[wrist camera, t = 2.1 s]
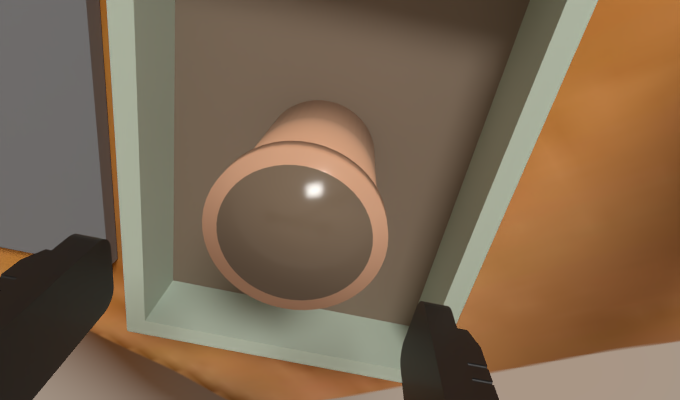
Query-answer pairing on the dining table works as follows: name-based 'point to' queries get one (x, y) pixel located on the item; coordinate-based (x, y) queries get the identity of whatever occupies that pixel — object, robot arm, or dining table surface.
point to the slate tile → (53, 125)
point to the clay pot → (300, 211)
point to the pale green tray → (376, 113)
